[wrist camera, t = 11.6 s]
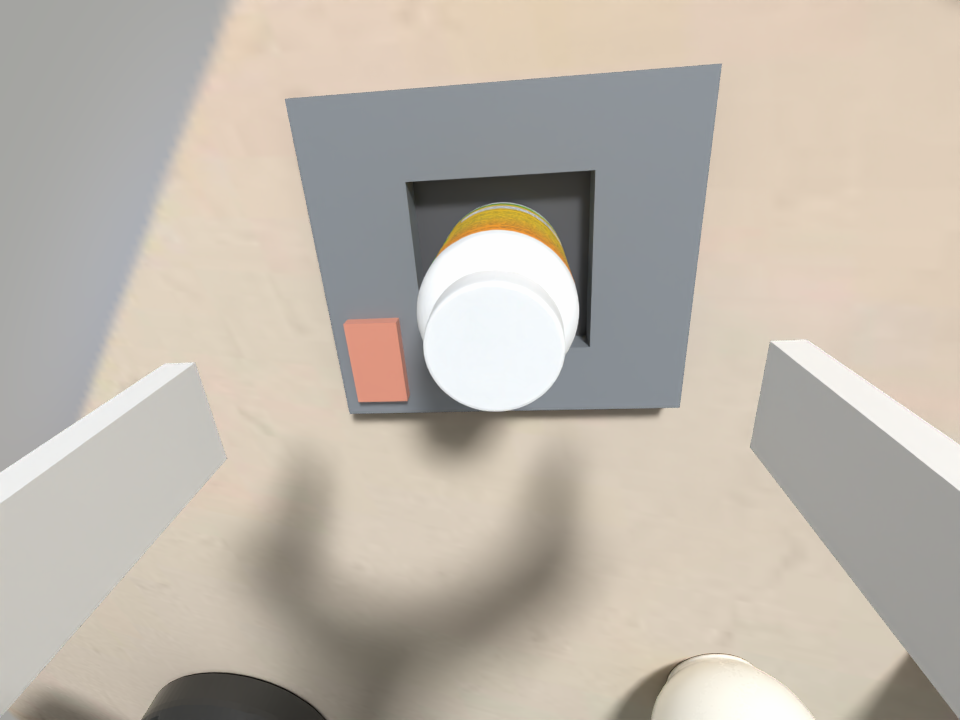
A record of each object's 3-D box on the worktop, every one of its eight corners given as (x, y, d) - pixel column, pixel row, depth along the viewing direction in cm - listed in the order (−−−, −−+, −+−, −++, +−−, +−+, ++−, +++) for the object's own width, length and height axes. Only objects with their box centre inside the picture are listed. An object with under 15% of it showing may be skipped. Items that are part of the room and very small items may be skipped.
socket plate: (359, 397, 26) (346, 420, 24) (301, 100, 20) (277, 98, 18) (670, 391, 25) (683, 414, 23) (706, 68, 19) (728, 61, 17)
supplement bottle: (434, 208, 22) (377, 266, 13) (559, 192, 21) (588, 243, 12) (453, 323, 24) (415, 439, 15) (566, 312, 23) (594, 427, 14)
